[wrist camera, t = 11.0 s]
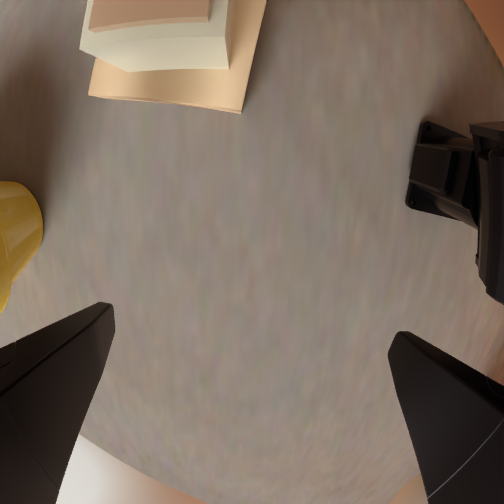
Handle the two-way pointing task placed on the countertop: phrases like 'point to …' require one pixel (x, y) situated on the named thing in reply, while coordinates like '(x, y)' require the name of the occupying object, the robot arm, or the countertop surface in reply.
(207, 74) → the beech block
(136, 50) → the cream lidded box
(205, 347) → the countertop surface
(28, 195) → the plant pot
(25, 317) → the countertop surface
